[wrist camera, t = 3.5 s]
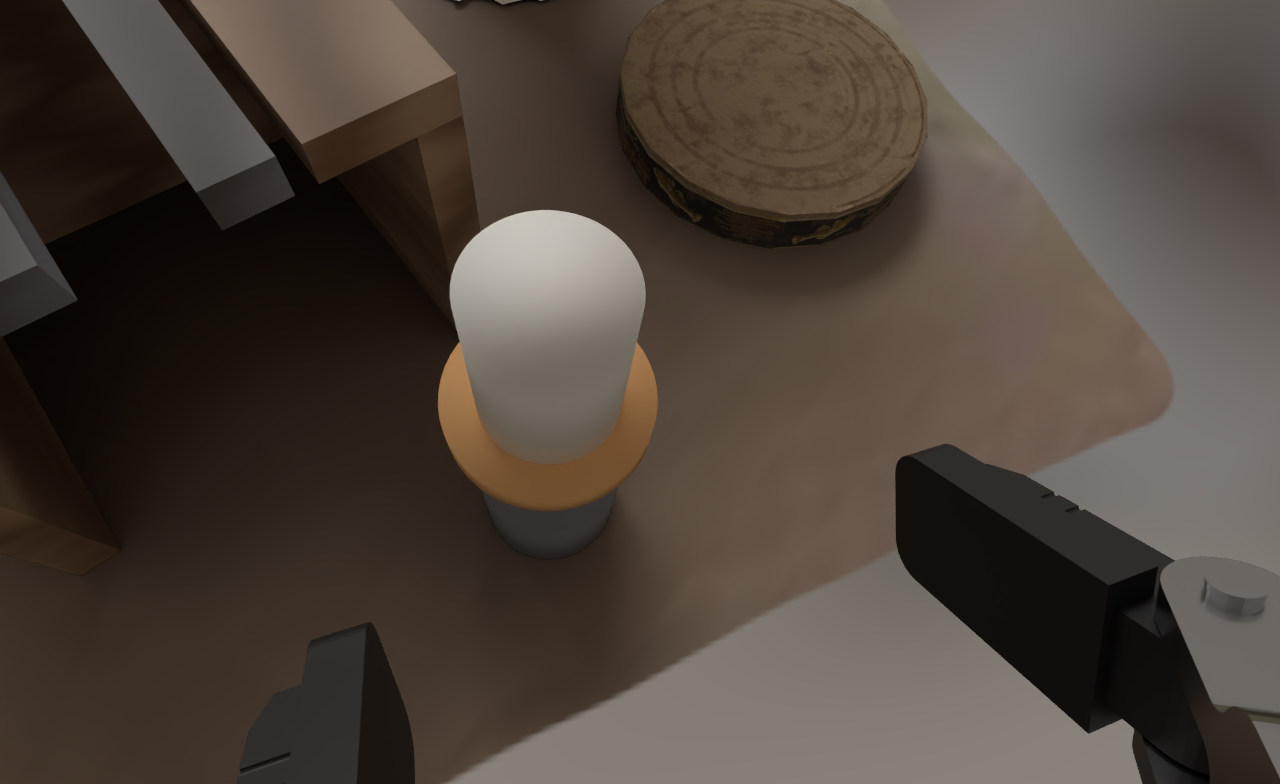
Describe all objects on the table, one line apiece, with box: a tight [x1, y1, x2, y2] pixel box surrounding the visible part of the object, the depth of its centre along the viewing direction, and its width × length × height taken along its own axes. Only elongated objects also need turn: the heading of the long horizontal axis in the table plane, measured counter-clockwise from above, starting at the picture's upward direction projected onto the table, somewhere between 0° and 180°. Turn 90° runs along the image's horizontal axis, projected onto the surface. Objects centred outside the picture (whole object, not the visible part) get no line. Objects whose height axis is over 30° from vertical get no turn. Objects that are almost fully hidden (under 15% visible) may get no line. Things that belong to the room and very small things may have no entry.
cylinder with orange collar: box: [438, 210, 658, 559], centre depth 22 cm, size 6×6×16 cm
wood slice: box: [616, 0, 927, 249], centre depth 38 cm, size 16×16×3 cm
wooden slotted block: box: [0, 0, 480, 576], centre depth 25 cm, size 18×16×14 cm
